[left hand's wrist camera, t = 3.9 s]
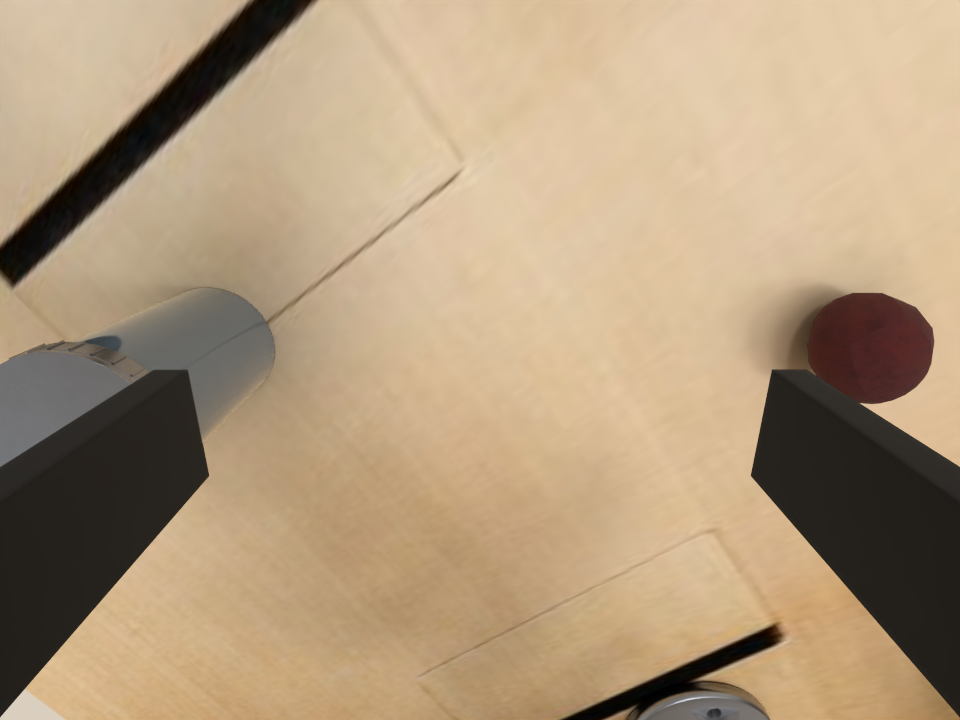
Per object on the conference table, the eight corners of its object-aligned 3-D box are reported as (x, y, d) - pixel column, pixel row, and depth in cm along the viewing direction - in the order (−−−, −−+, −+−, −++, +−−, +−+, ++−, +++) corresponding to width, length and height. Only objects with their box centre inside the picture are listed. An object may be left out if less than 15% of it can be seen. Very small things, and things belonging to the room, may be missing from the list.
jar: (134, 312, 40) (-51, 393, 26) (237, 269, 39) (101, 329, 25) (197, 411, 43) (60, 533, 29) (295, 374, 42) (202, 481, 28)
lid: (-43, 379, 27) (-74, 392, 26) (119, 311, 26) (98, 320, 24) (73, 528, 30) (52, 547, 29) (224, 473, 29) (210, 490, 28)
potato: (809, 395, 42) (870, 438, 36) (770, 316, 40) (827, 346, 34) (901, 346, 41) (982, 381, 34) (865, 261, 39) (945, 281, 32)
